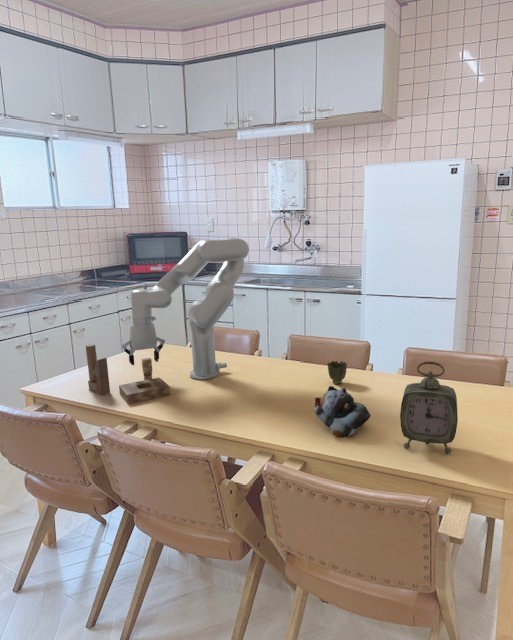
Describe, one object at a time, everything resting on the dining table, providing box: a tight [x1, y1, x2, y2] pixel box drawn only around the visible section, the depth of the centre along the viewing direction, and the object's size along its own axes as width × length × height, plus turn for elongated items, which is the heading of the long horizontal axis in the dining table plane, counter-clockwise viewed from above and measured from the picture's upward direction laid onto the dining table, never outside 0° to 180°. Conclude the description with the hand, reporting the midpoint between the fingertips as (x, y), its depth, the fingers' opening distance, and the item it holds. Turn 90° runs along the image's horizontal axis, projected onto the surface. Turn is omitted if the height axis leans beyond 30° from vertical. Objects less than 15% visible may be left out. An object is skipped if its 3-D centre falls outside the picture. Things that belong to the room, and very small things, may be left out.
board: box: [118, 376, 171, 405], centre depth 185 cm, size 16×12×4 cm
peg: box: [141, 357, 153, 381], centre depth 197 cm, size 4×4×10 cm
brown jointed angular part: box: [85, 343, 111, 396], centre depth 189 cm, size 4×11×18 cm, turn 45°
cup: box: [327, 360, 348, 385], centre depth 188 cm, size 8×7×8 cm
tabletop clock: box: [399, 361, 459, 455], centre depth 134 cm, size 14×9×25 cm, turn 69°
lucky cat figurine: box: [313, 385, 372, 438], centre depth 149 cm, size 15×12×14 cm
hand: (144, 362), depth 195 cm, fingers open, 9 cm apart
